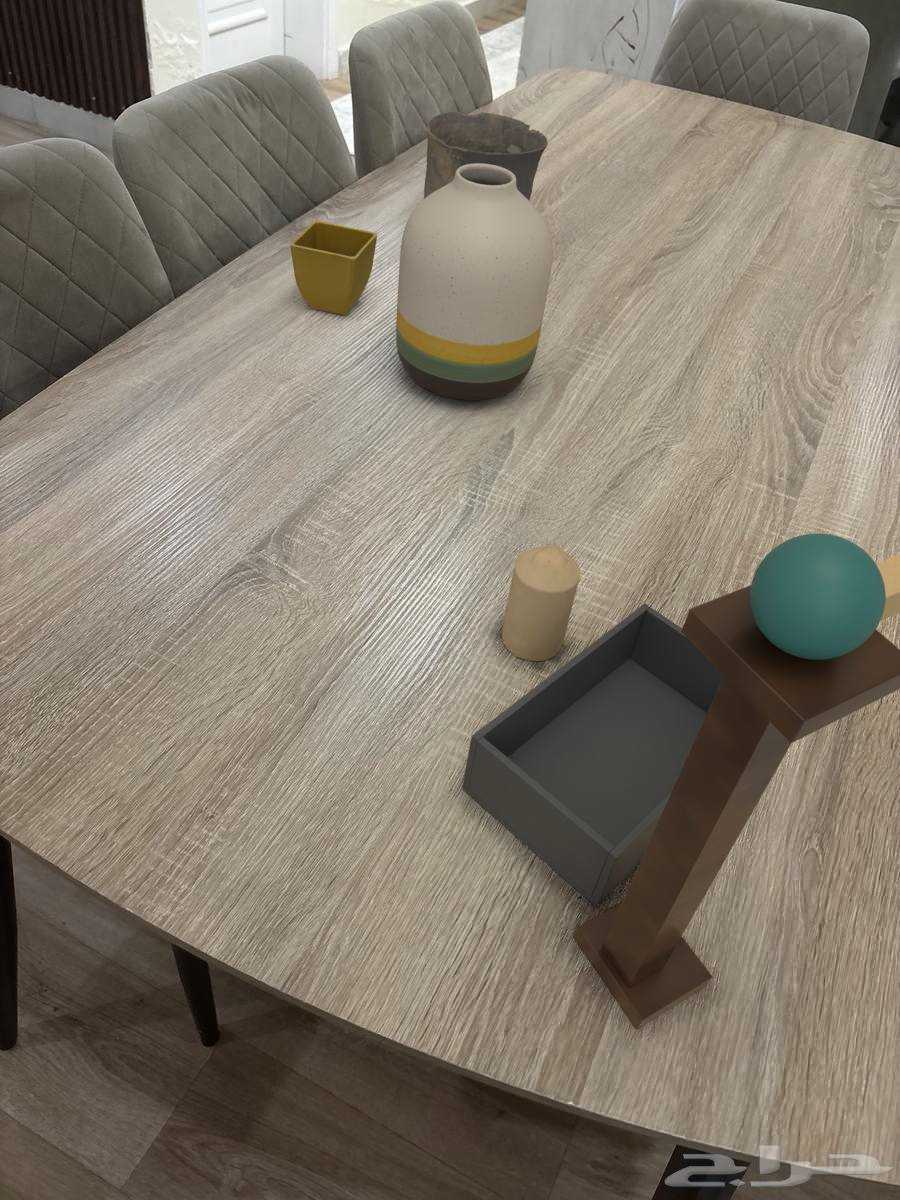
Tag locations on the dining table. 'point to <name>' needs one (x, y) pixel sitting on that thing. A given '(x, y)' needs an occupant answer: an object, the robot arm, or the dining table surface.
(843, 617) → the rattle
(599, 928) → the stand
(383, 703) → the dining table surface
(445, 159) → the dark brown chipped pot
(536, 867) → the dining table surface
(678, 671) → the bin
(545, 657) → the candle
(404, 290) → the vase
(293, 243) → the flower pot
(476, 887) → the dining table surface
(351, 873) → the dining table surface
